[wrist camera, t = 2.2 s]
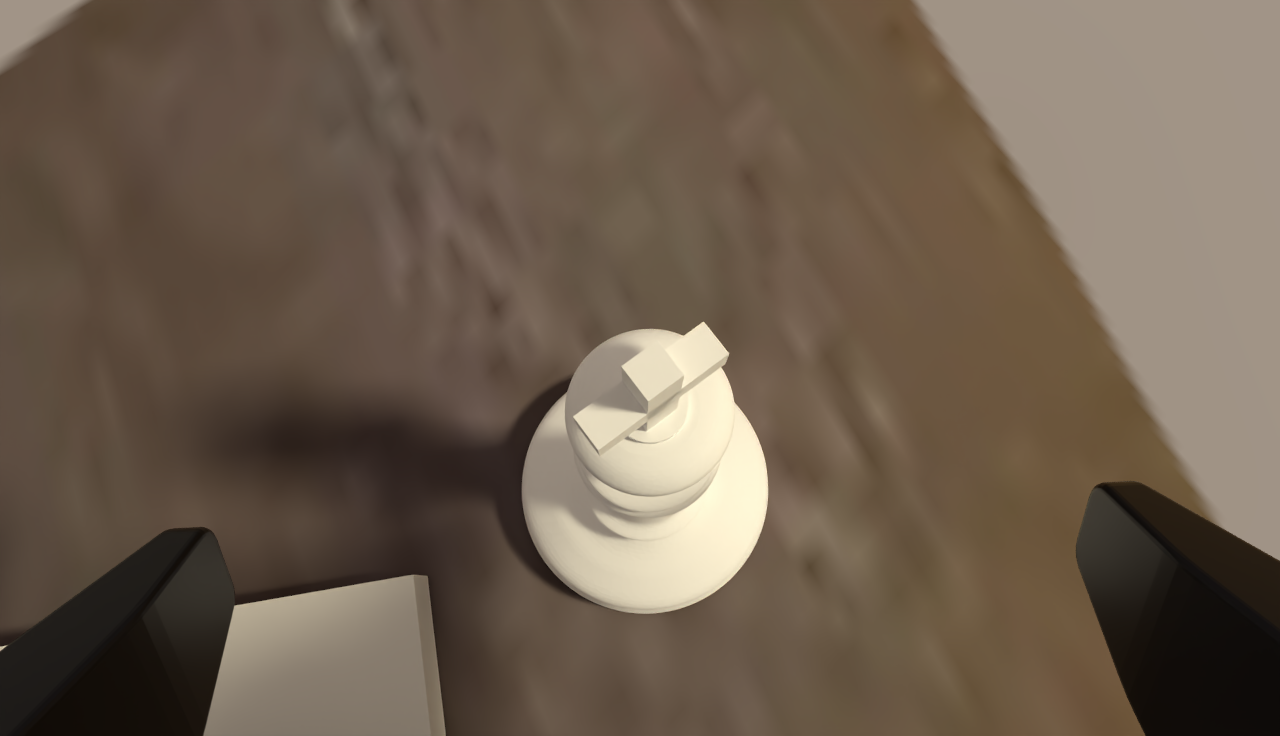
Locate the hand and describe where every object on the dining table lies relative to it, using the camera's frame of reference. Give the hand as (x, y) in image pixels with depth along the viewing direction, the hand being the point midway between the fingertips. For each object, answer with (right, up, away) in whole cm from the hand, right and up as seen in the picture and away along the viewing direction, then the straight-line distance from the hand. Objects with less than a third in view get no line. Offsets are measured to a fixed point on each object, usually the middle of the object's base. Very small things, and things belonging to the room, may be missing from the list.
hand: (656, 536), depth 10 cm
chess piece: (0, -1, +9) cm, 9 cm away
